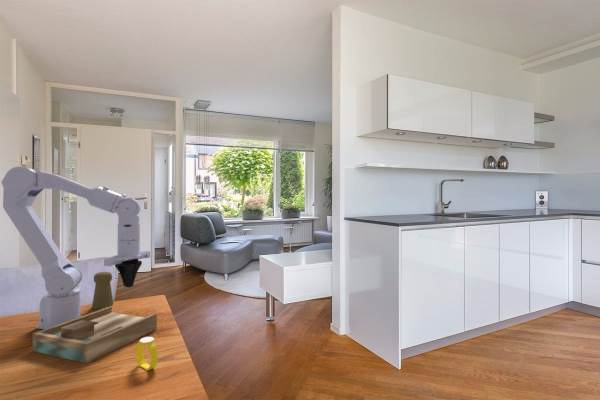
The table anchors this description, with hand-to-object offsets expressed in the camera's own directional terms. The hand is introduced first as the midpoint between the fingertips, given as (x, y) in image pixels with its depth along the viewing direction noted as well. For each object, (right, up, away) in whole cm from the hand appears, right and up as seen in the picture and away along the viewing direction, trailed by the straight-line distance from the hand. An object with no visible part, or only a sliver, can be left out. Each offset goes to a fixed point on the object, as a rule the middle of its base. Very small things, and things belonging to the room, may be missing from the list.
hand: (128, 286), depth 96 cm
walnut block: (-2, -7, -19) cm, 20 cm away
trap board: (0, -9, -14) cm, 17 cm away
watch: (+18, -10, -27) cm, 34 cm away
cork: (-14, -10, +11) cm, 20 cm away
